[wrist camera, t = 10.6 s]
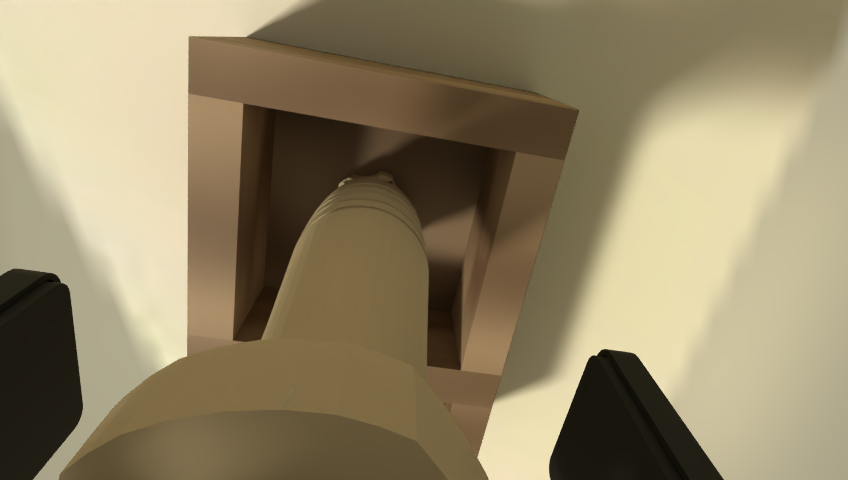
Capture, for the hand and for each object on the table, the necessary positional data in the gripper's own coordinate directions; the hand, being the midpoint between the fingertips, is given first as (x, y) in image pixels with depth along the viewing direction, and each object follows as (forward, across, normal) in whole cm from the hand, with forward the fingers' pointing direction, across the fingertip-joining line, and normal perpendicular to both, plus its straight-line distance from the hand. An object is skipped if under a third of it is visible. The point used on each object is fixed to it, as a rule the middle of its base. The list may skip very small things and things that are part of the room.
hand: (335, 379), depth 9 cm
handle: (+11, 0, +1) cm, 11 cm away
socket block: (+12, 0, +3) cm, 12 cm away
